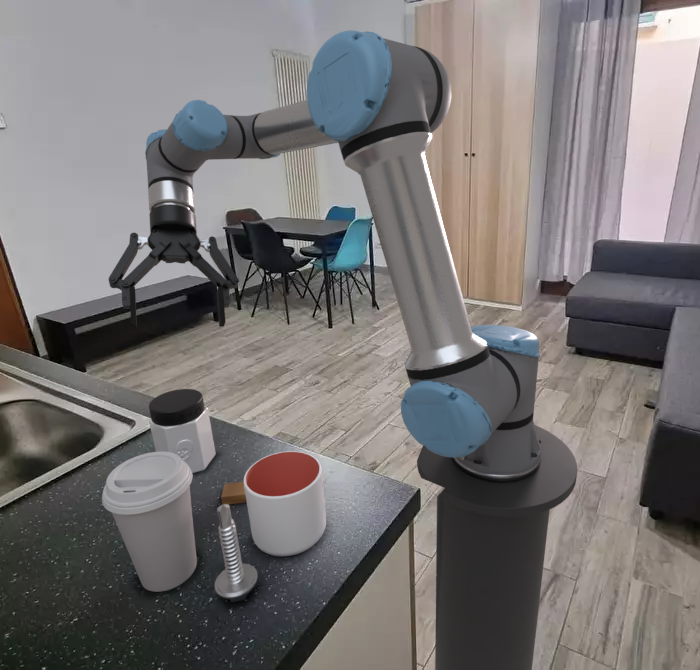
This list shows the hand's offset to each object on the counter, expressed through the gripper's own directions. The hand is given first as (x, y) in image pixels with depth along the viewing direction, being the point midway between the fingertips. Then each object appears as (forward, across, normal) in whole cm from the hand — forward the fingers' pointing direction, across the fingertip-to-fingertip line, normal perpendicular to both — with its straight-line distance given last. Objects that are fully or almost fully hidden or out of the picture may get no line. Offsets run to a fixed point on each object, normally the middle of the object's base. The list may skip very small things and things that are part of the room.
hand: (179, 325), depth 82 cm
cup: (+35, -12, +13) cm, 39 cm away
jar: (+22, 0, -8) cm, 24 cm away
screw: (+40, -4, +18) cm, 44 cm away
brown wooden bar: (+29, -10, +5) cm, 32 cm away
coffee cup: (+36, +4, +11) cm, 38 cm away
